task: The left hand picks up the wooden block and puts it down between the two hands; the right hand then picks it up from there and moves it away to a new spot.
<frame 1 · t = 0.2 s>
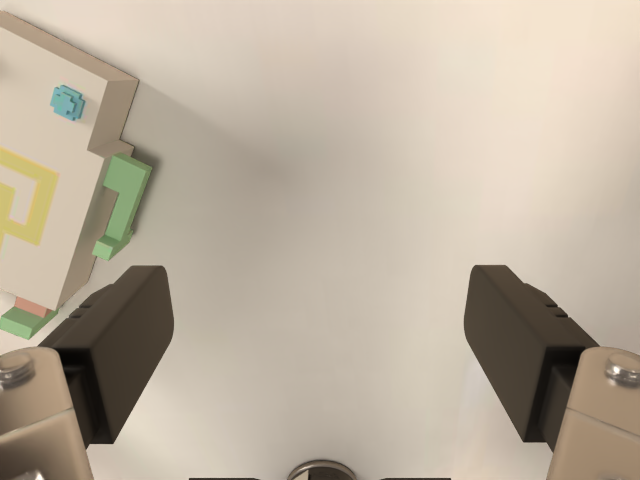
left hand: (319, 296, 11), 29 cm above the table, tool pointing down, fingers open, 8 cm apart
decorative block: (39, 179, 39), on the table
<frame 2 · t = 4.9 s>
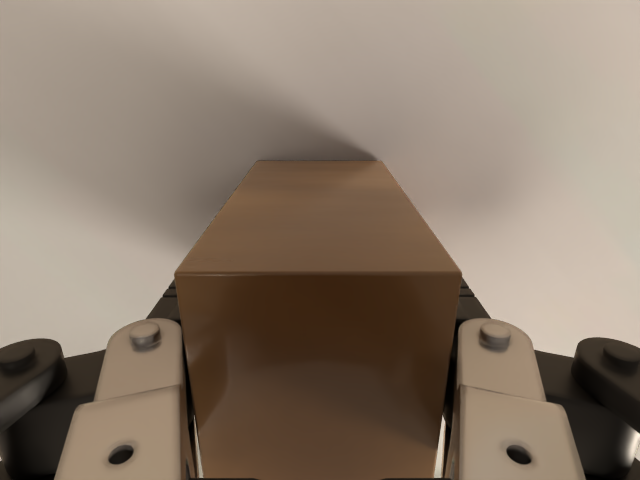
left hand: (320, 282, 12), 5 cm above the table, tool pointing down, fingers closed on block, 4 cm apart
block: (319, 227, 16), on the table, touching left hand
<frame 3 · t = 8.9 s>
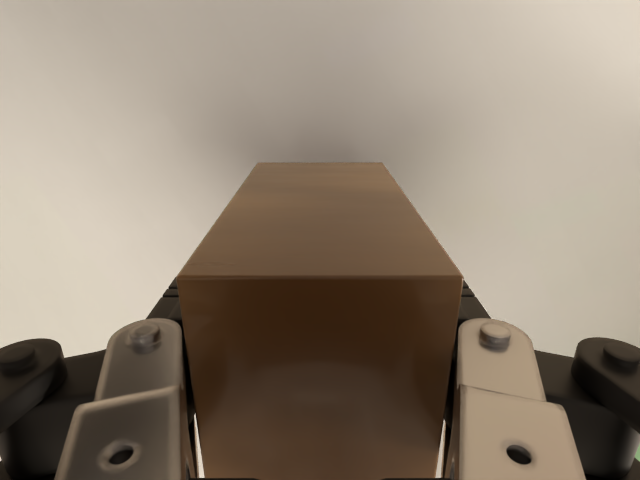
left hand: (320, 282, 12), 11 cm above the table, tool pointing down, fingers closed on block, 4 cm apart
block: (320, 229, 16), point 7 cm above the table, touching left hand
when the left hand's fingers open (6 cm above the table, at t = 13.0 s): block drops 1 cm, on the table.
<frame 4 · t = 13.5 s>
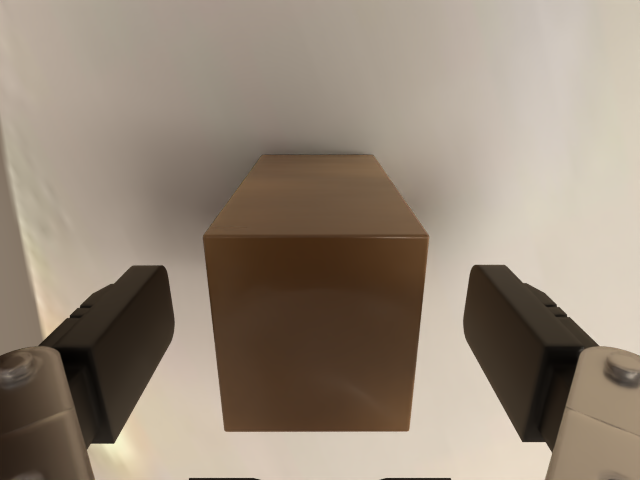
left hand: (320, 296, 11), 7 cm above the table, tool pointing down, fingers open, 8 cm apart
block: (317, 215, 18), on the table
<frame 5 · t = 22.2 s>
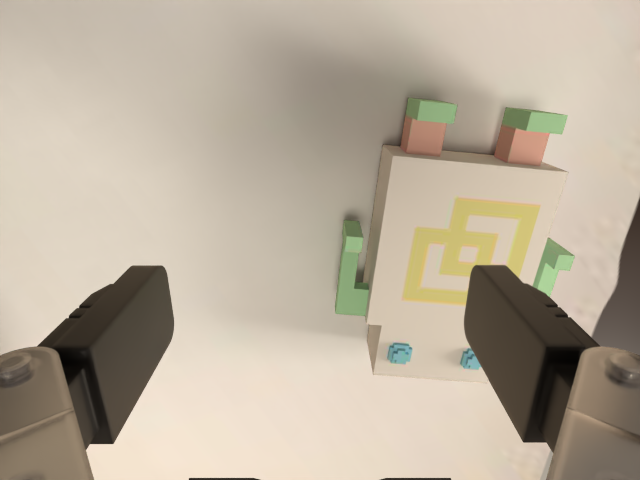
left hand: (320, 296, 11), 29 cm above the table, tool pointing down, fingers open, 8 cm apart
decorative block: (440, 236, 42), on the table
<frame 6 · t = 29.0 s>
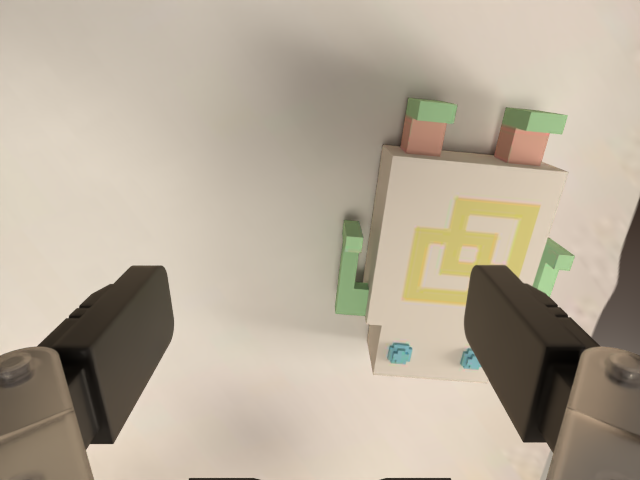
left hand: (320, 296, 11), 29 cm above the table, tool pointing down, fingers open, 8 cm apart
decorative block: (440, 236, 42), on the table
when the right hand's fingers open (5 cm above the table, at t = 35.8 s): block drops 1 cm, on the table.
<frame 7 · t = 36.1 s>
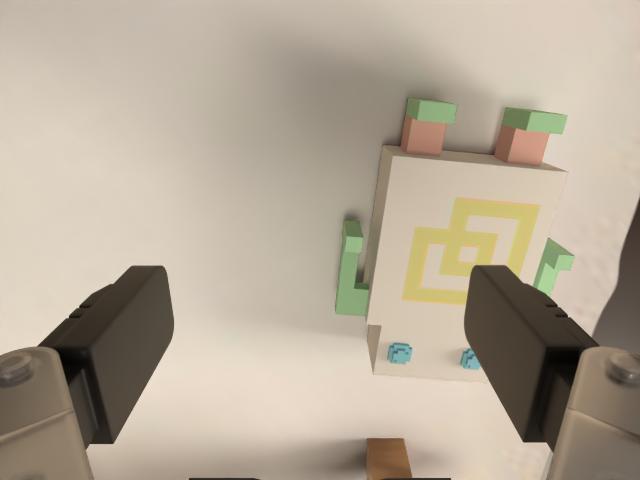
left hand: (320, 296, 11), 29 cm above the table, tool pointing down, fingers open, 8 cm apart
decorative block: (440, 236, 42), on the table
block: (384, 453, 53), on the table
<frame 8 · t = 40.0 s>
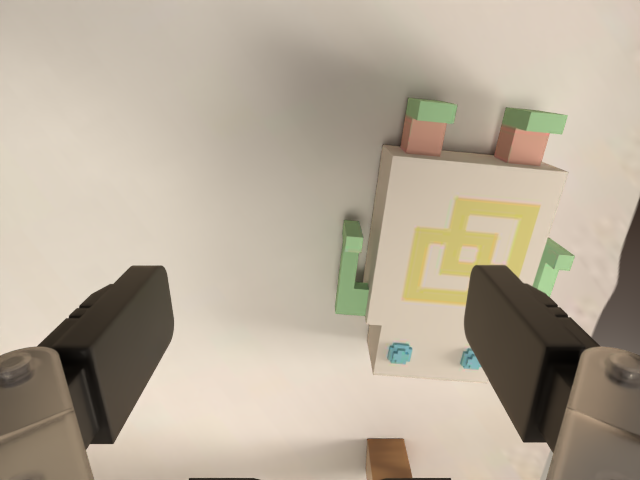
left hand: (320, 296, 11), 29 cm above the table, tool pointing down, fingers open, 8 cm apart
decorative block: (440, 236, 42), on the table
block: (384, 453, 53), on the table
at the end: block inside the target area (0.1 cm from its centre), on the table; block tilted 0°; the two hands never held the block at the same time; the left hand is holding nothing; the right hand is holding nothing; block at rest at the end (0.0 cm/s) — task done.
